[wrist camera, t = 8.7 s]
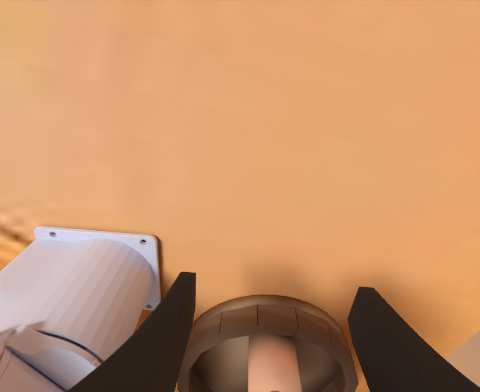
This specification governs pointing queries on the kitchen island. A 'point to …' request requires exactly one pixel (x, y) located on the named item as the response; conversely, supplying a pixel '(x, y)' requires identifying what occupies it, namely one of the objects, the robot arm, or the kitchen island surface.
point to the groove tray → (265, 322)
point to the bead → (272, 364)
